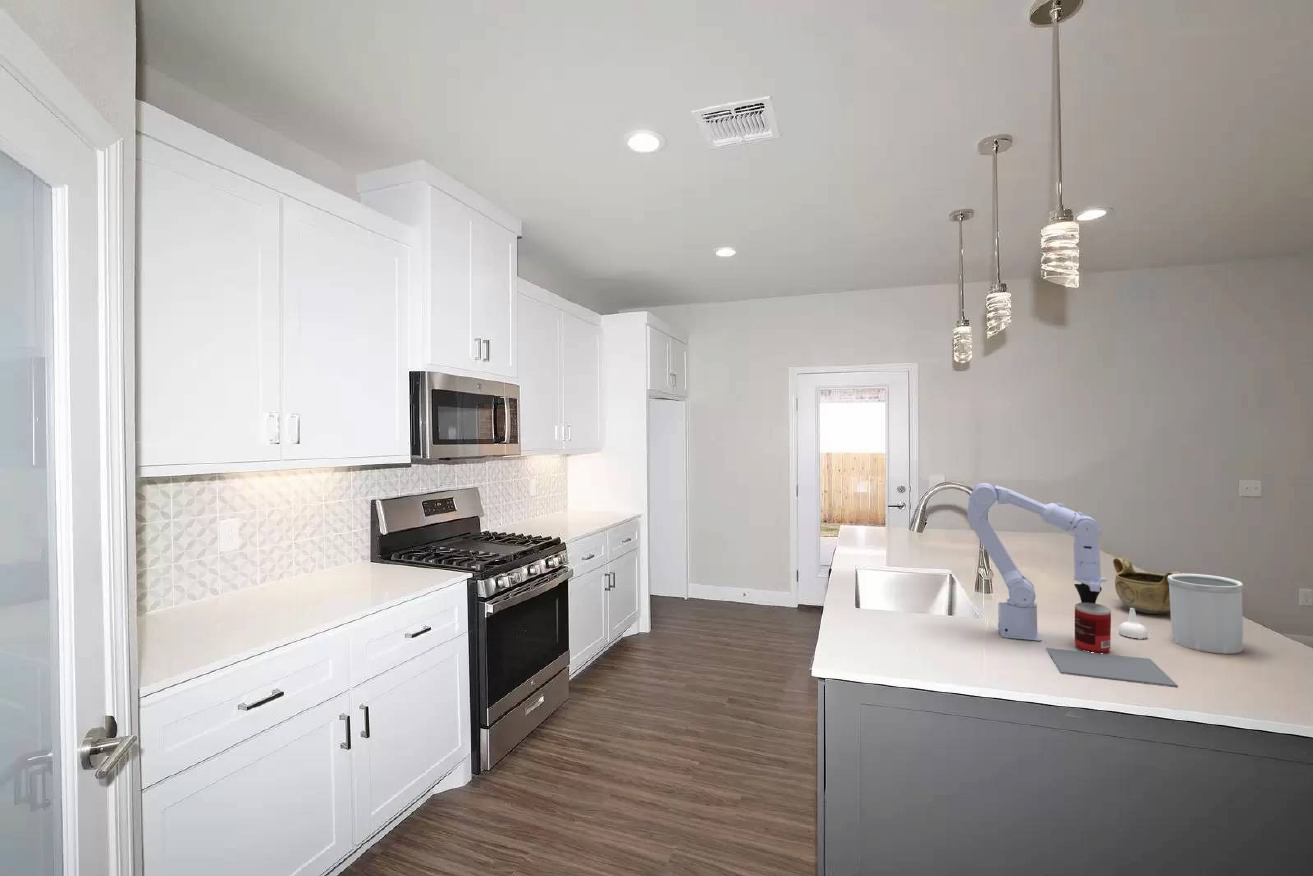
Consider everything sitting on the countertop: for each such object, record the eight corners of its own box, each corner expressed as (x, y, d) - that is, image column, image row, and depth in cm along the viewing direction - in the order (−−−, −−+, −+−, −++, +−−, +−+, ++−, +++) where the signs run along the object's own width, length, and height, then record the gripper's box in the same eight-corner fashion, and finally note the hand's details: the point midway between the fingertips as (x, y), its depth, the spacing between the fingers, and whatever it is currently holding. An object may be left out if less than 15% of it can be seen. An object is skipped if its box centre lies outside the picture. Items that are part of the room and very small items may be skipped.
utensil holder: (1167, 646, 158) (1166, 580, 158) (1169, 632, 168) (1168, 570, 168) (1245, 659, 148) (1244, 589, 147) (1242, 643, 158) (1241, 578, 158)
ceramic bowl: (1094, 602, 198) (1094, 557, 198) (1142, 600, 199) (1142, 556, 199) (1155, 623, 176) (1154, 573, 176) (1209, 621, 177) (1208, 571, 177)
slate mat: (1060, 673, 141) (1060, 671, 141) (1046, 649, 157) (1046, 647, 157) (1177, 687, 133) (1177, 685, 133) (1150, 660, 148) (1150, 658, 148)
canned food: (1109, 645, 158) (1109, 605, 157) (1111, 657, 151) (1112, 614, 151) (1073, 640, 162) (1074, 600, 161) (1074, 650, 156) (1075, 609, 155)
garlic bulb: (1152, 642, 162) (1154, 613, 162) (1126, 639, 163) (1128, 610, 163) (1138, 635, 168) (1141, 607, 168) (1113, 631, 170) (1116, 604, 169)
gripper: (1113, 568, 152) (1115, 621, 152) (1097, 556, 165) (1098, 605, 165) (1080, 566, 155) (1082, 618, 155) (1066, 555, 168) (1068, 603, 168)
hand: (1088, 611), depth 160 cm, fingers closed, pressing on canned food
